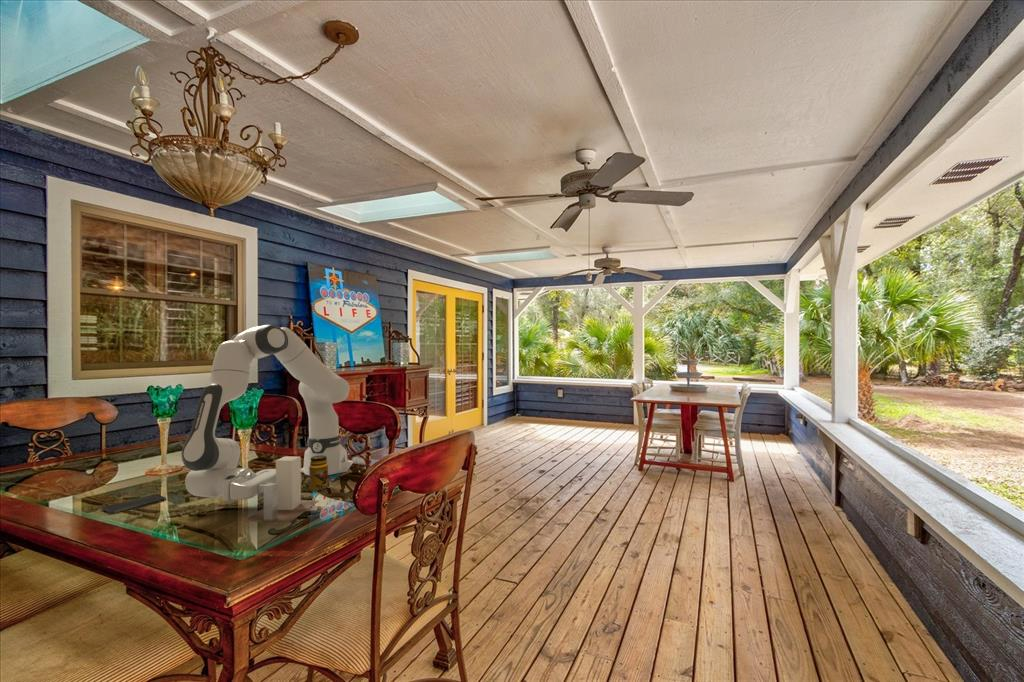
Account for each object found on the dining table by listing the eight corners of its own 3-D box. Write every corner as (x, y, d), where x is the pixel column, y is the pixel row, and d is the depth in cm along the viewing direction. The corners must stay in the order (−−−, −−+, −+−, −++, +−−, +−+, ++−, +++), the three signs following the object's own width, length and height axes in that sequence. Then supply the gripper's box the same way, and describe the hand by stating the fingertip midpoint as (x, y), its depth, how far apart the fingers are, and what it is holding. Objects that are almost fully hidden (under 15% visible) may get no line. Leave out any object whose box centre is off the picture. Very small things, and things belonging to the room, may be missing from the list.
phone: (167, 498, 155) (110, 512, 142) (167, 501, 155) (110, 515, 142) (156, 493, 159) (100, 507, 146) (156, 497, 159) (100, 510, 146)
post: (268, 517, 137) (268, 482, 137) (277, 517, 137) (277, 483, 137) (263, 520, 135) (263, 485, 135) (272, 520, 134) (272, 485, 134)
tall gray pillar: (284, 503, 148) (284, 456, 149) (300, 503, 148) (300, 456, 148) (275, 509, 143) (275, 460, 143) (292, 509, 143) (292, 460, 143)
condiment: (326, 493, 162) (326, 458, 162) (300, 494, 161) (300, 459, 161) (331, 487, 169) (331, 453, 169) (306, 488, 168) (306, 454, 168)
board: (276, 503, 152) (276, 500, 152) (319, 503, 152) (319, 500, 152) (242, 524, 134) (242, 521, 134) (290, 525, 134) (290, 521, 134)
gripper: (260, 482, 157) (300, 482, 156) (219, 503, 136) (265, 504, 136) (260, 463, 157) (300, 463, 156) (219, 482, 136) (265, 482, 136)
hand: (284, 482), depth 146 cm, fingers open, 8 cm apart
